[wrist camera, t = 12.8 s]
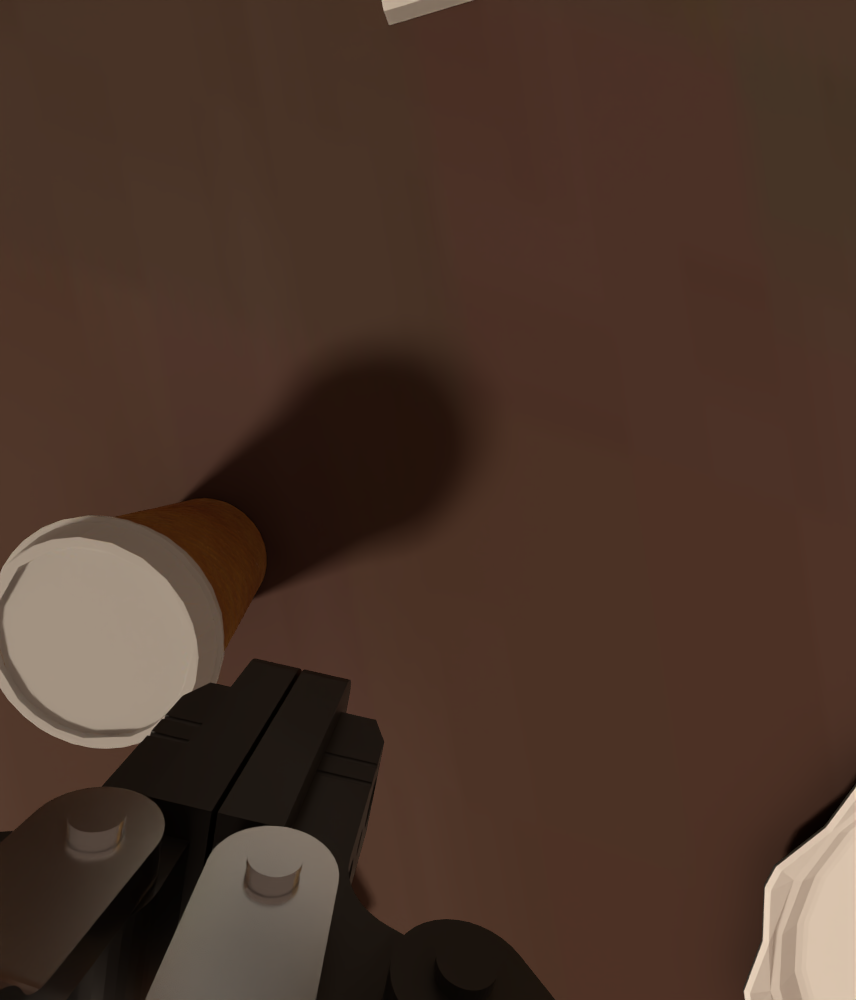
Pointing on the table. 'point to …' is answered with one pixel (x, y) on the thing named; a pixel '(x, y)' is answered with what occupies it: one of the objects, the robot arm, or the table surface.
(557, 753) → the table surface
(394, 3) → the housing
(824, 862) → the plate
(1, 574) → the disposable coffee cup
